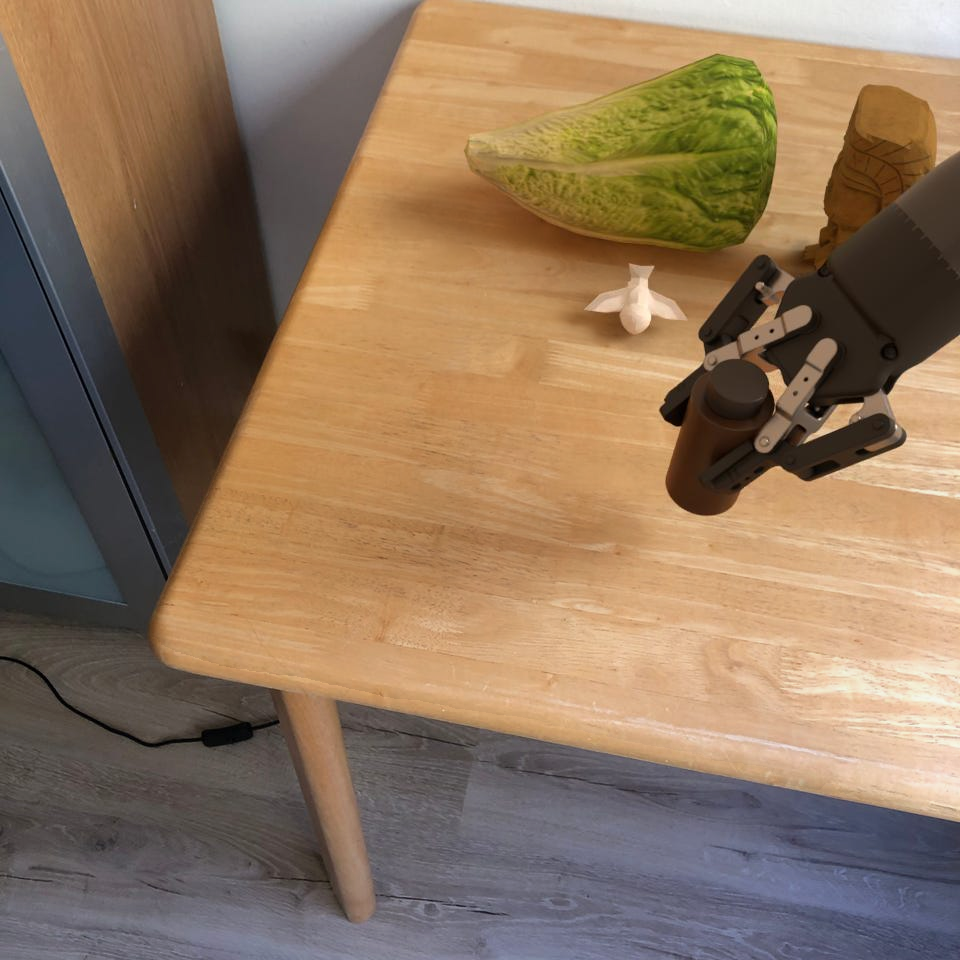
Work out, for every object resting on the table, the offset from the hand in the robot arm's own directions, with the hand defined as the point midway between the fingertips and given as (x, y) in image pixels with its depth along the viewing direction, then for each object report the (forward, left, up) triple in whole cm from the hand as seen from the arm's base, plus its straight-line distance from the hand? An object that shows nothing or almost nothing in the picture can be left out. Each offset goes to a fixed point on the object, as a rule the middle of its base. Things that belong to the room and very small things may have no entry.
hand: (688, 452), depth 57 cm
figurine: (+6, -30, -9) cm, 32 cm away
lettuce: (+24, -22, -9) cm, 34 cm away
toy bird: (+14, -14, -9) cm, 22 cm away
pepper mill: (-1, -2, -4) cm, 5 cm away
